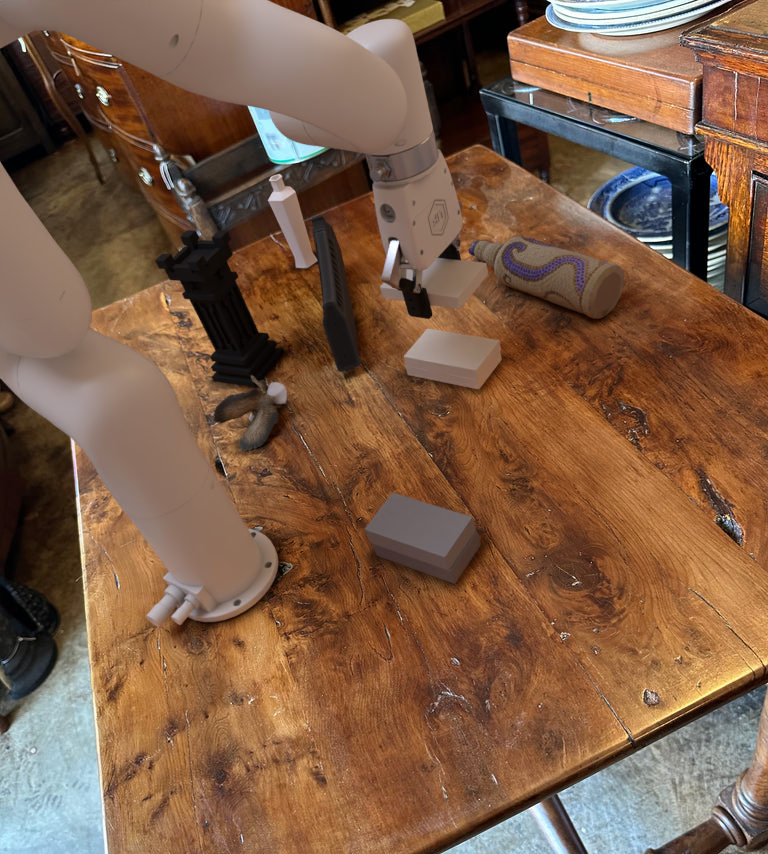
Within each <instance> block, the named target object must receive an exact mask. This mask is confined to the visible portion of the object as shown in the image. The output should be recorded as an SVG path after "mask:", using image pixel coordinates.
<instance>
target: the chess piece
mask: <svg viewBox="0 0 768 854" xmlns="http://www.w3.org/2000/svg"><path fill="white" fill-rule="evenodd" d="M179 239H180V240H181V242H182V244H183V247H182V248H181V249H180V250H179V251H178V252H177V253H176V254H175V255H174V256H173V255H172V253H161V254H160V255H159V256H158V257H157V258H156V259H155V260H154V261H155V263H156V265H157V268H158V269H160V270H164V272H165V273H166V275H167V277H168V279H169V281H179V282H180V284H181V286H182V288H183V290H184V291H183V292H182V293H181V295H182V297H183V299H184V300H189V302H190V304H191V305H192V308H193V309H194V312H195V314H196V315H197V317H198V320H199V321H200V324H201V325H202V327H203V329H204V331H205V334H206V335H207V338H208V339H209V341H210V343H211V345H212V347H213V349H214V352H213V353H212V354H211V355H210V356H209V358H210V360H211V362H214V363H213V364H212V365H211V366H210V369H211V370H212V372H213V373H214V374H213V375H211V379H212V381H213V382H217V383H224V384H231V385H238V386H245V387H251V388H257V387H258V385H257V384H256V383H254V382H253V380H252V379H251V375H252V376H254V377H255V378H256V379H257V380H258V381H259V382H260V381H262V380H264V378H265V376H267V375H268V373H269V372H270V371H271V369H272V368H273V367H274V366H275V365H276V363H277V362H278V361H279V360H280V358H281V357H282V356H283V355H284V354H285V350H284V348H283V347H277V346H278V344H277V341H276V340H273V339H270V335H269V332H260V331H259V329H258V327H257V325H256V323H255V321H254V318H253V316H252V314H251V312H250V310H249V307H248V306H247V303H246V301H245V298H244V297H243V296H244V295H243V294H242V291H241V290H240V287H239V285H238V282H237V281H236V280H237V279H239V275H238V273H237V271H232V269H231V267H230V264H229V263H228V261H229V259H230V258H231V257H233V256H234V253H233V251H232V248H231V246H230V244H229V243H230V242H231V240H232V238H231V236H230V234H229V231H228V230H218V231H217V232H216V233H215V234H214V235H212V236H211V240H206V239H205V240H204V239H200V237H199V234H198V232H197V230H191V229H189V230H188V229H187V230H186V231H184V232H183V233H182V234H181V235H180V236H179Z"/></svg>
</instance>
